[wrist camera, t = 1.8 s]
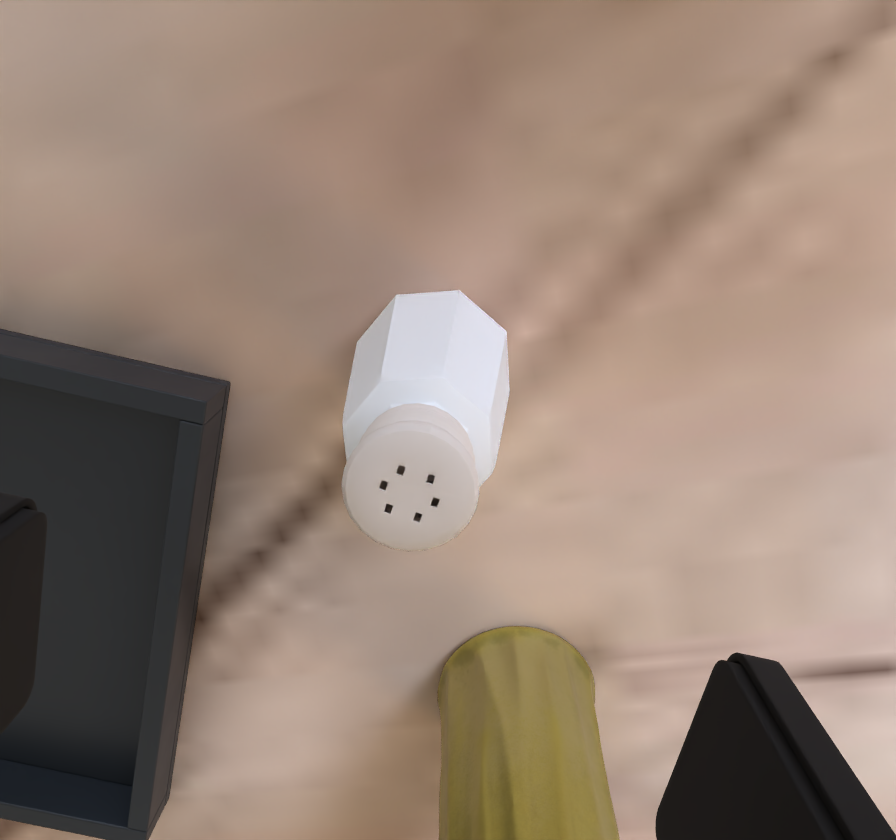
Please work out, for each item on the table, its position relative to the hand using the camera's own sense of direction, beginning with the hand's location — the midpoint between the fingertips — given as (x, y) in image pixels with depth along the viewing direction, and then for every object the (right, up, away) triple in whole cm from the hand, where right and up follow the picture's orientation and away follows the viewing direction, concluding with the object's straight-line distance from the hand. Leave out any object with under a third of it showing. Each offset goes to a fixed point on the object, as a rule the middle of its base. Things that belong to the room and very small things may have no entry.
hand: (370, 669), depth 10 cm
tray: (-15, -2, +18) cm, 23 cm away
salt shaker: (+1, +5, +15) cm, 16 cm away
